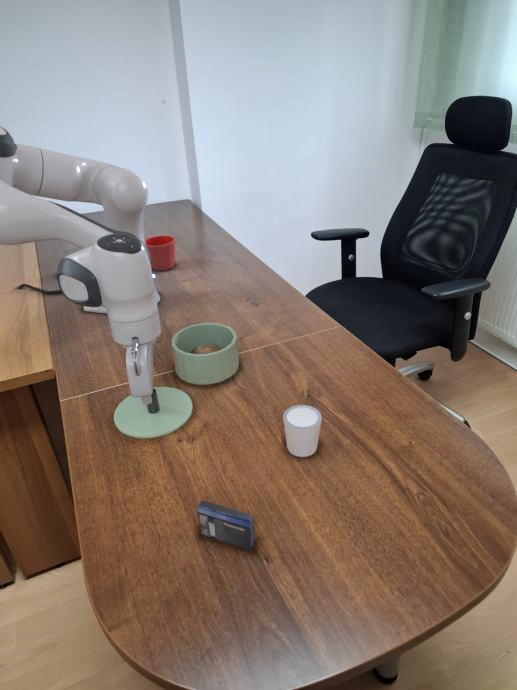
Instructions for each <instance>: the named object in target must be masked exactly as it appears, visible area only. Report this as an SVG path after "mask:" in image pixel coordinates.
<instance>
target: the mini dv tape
mask: <svg viewBox="0 0 517 690" xmlns="http://www.w3.org/2000/svg"><path fill="white" fill-rule="evenodd" d="M254 516H255V515H254V514H250V513H247V512H245V511H241V510H238V509H234V508H231V507H228V506H223V505H220V504H218V503H214V502H210V501H206V500H204V499H201V501H200V502H199V503H198V506H197V518H198V525H199V531H200V535H202V536H204V537H207V538H210V539H213V540H217V541H220V542H223V543H226V544H228V545H232V546H235V547H238V548H240V549H241V548H242V549H244V550H247V551H253V547H254V546H255V543H256V531H255V530H256V529H255V517H254Z"/></svg>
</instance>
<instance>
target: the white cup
mask: <svg viewBox="0 0 517 690" xmlns="http://www.w3.org/2000/svg"><path fill="white" fill-rule="evenodd" d="M282 418H283V419H282V420H283V427H284V434H285V443H286V449H287V451H288V452H289V454H291V455H293V456H295V457H299V458H306V457H309V456H312V455H313V454H315V453H316V452H317V449H318V445H319V439H320V434H321V427H322V421H323V416H322V413H321V412H320V411H319V410H318V409H317V408H316V407H314V406H311V405H306V404H296V405H293V406H290V407H288V408H286V410H285V411H284V413H283V414H282Z"/></svg>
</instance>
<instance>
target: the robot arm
mask: <svg viewBox="0 0 517 690" xmlns="http://www.w3.org/2000/svg"><path fill="white" fill-rule="evenodd" d="M43 198H46V199H51V200H56V201H63V202H70V203H71V202H74V203H88V204H95V205H99V206H102V208H103V209H102V210H103V214H104V217H103V218H104V222H103V223H104V224H102V223H100V222H98V221H96V220H94V219H92V218H90V217H88V216H86V215H84V214H82V213H81V212H78V211H76V210H74V209H71V208H70V207H68V206H65V205H63V204H60V203H57V202H54V201H51V200H46V199H43ZM148 200H149V190H148V186H147V183H145V181H144V180H143V179H142V178H141V177H140V176H139V175H138V174H137V173H135V172H134V171H133V170H130V169H127V168H124V167H120V166H118V165H115V164H111V163H109V162H103V161H98V160H95V159H90V158H85V157H80V156H75V155H70V154H66V153H62V152H59V151H54V150H49V149H46V148H41V147H37V146H32V145H27V144H26V145H25V144H20V143H15V140H14V138H13V136H12V135H11V134H10V132H9V131H8V130H7V129H5V127H3V126H0V245H3V246H18V245H24V244H31V243H36V242H37V243H38V242H43V241H44V242H45V241H60V242H61V241H62V242H67V243H70V244H72V245H74V246H75V247H78V248H79V250H77V251H75V252H72V253H70V254H68V255H66V256H65V257H63V258H61V259H60V260H59V262H58V264H57V269H56V280H57V284H58V287H59V289H58V290H45V289H42V288H39V287H37V286H33V285H31V284H27V283H21V284H20V285H19V286H18V289H19V290H20V289H23V288H28V289H30V290H33V291H37V292H39V293H41V294H46V295H55V294H56V295H57V294H62V295H63V296H64V298H65V299H66V300H68V301H69V302H71V303H72V304H75V305H78V306H81V307H83V311H84V312H88V313H99V314H106V315H107V320H108V325H109V329H110V333H111V337H112V340H113V341H114V342H115V343H116V344H118V345H121V346H122V348H124V349H126V351H125V367H126V375H127V380H128V381H127V382H128V386H129V392H130V395H132V396H133V397H141V400H142V403H143V404H150V403H152V396H151V395H152V393H153V386H154V379H153V378H154V344H155V343H156V341H157V338H158V337H159V336H160V335H161V334H162V324H161V318H160V317H161V316H160V312H159V307H158V303H160V300H161V296H160V294H159V291H158V290H157V288H156V285H155V282H154V279H155V278H156V274H154V273H153V268H152V265H151V257H150V253H149V251H148V249H147V247H146V244H145V240H146V238H145V231H144V217H145V216H144V215H145V207H146V205H147V203H148Z"/></svg>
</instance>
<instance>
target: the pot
mask: <svg viewBox="0 0 517 690" xmlns="http://www.w3.org/2000/svg"><path fill="white" fill-rule="evenodd" d="M170 340H171V342H170V343H171V350H172V357H173V363H174V364H173V365H174V369H175V374H176V375H177V377H178V378H179V379H181V380H182V381H183V382H185V383H188V384H193V385H199V386H200V385H212V384H216V383H220V382H223V381H226V380H227V379H229V378H232V376H233V375H234V374H235V373H237V371H238V369H239V366H240V359H239V347H238V344H239V343H238V336H237V333H236V331H235V330H234V329H233V328H232V327H230V326H228V325H225V324H223V323H222V324H221V323H216V322H201V323H196V324H191V325H188V326H186V327H183V328H181V329H180V330H178V331H176V332H175V334H173V336H172V338H171V339H170ZM204 345H214V346H217V347H219V348H221V350H219V351H217V352H212V353H208V354H192V353H191V351H192V350H193V349H194V348H196V347H198V346H204Z"/></svg>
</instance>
